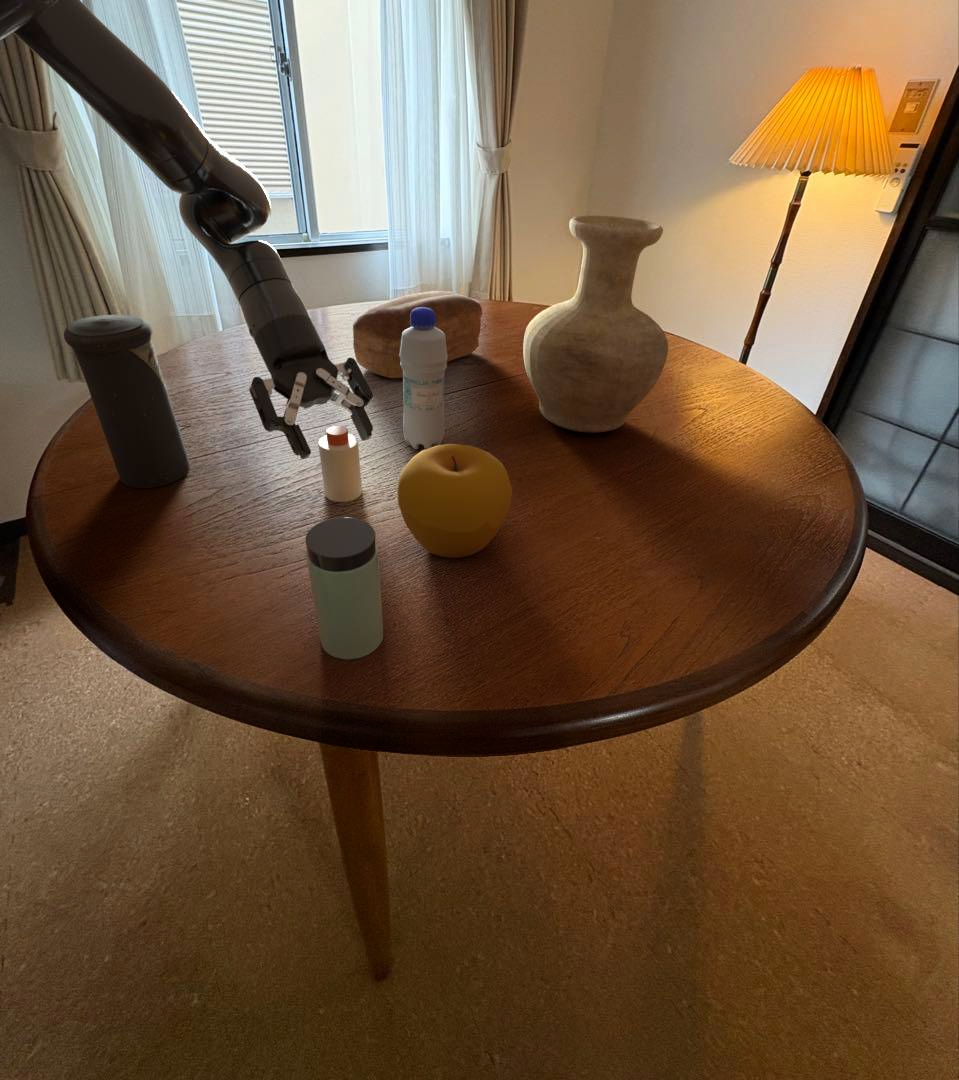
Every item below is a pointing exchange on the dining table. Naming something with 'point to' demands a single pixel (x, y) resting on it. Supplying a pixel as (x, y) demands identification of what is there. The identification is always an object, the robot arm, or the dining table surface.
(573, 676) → the dining table surface
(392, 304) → the bread
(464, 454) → the apple
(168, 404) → the container
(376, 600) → the celadon jar
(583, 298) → the vase
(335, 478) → the cream bottle
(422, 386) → the bottle
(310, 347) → the robot arm
